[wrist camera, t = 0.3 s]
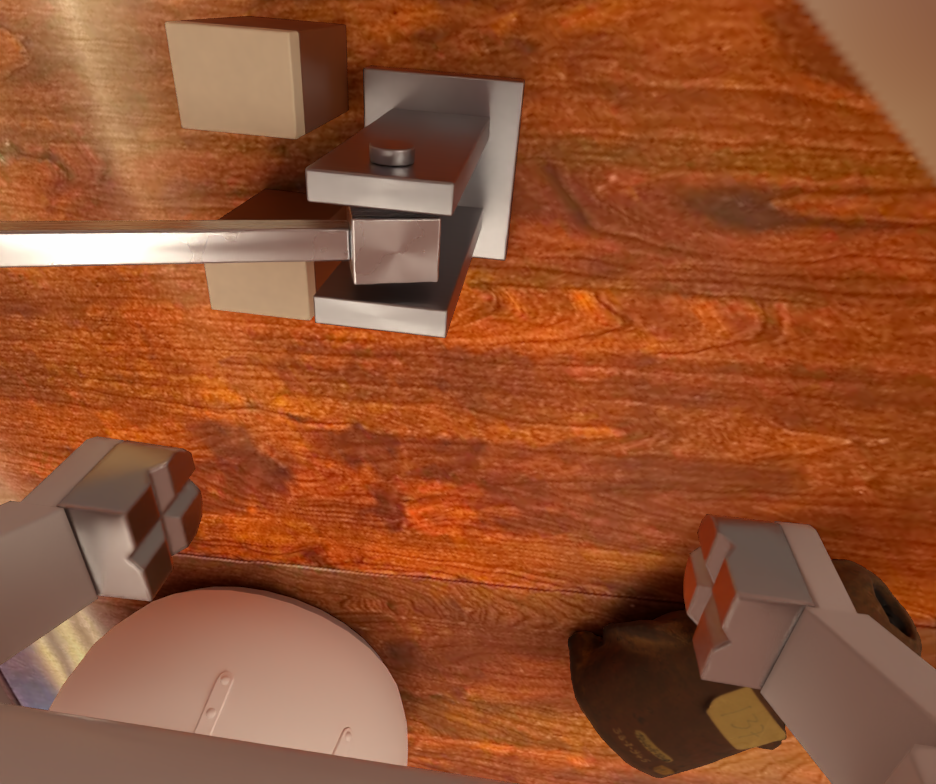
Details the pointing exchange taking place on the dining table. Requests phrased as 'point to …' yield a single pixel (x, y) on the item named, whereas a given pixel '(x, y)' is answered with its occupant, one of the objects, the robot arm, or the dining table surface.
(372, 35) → the dining table surface
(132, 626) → the pot
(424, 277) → the black ball knob lever
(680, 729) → the dark brown bag
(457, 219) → the bracket
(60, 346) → the dining table surface
